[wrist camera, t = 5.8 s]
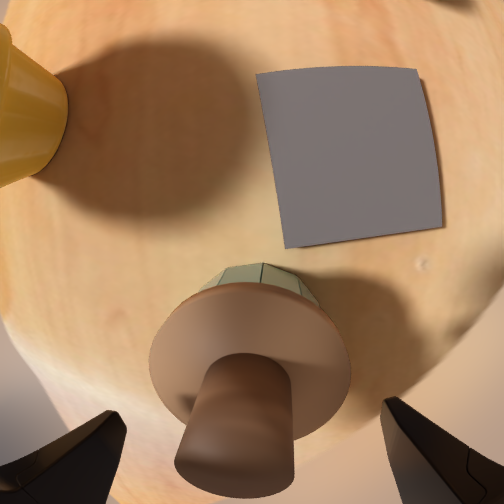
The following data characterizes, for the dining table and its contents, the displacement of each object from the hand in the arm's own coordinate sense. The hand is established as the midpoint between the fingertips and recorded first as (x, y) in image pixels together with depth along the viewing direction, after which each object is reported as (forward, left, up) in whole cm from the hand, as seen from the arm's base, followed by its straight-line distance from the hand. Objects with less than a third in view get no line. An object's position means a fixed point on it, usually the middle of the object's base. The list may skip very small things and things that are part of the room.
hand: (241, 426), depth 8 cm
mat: (-6, -8, -7) cm, 12 cm away
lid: (0, 0, -3) cm, 3 cm away
